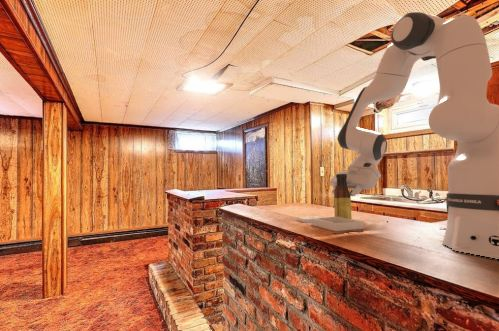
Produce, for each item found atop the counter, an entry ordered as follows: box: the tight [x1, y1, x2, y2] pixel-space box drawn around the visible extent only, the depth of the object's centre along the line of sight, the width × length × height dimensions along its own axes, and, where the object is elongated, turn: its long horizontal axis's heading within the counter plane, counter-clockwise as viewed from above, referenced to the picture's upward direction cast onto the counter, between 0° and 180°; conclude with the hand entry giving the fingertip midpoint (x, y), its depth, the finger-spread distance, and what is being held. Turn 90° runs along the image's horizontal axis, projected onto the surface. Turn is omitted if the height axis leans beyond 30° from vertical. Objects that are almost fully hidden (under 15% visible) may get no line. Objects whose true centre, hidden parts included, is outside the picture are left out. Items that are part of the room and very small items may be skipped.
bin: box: [311, 216, 365, 236], centre depth 87 cm, size 12×13×4 cm
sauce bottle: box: [333, 173, 353, 219], centre depth 100 cm, size 6×6×20 cm
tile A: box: [310, 215, 325, 218], centre depth 100 cm, size 5×5×1 cm
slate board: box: [291, 218, 312, 224], centre depth 100 cm, size 10×12×1 cm
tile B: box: [296, 216, 312, 223], centre depth 98 cm, size 5×5×1 cm
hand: (342, 194), depth 100 cm, fingers open, 8 cm apart
